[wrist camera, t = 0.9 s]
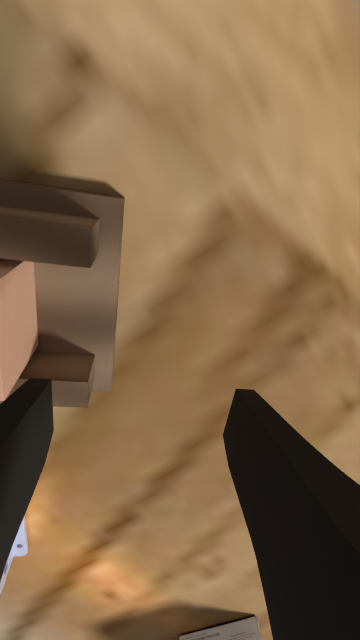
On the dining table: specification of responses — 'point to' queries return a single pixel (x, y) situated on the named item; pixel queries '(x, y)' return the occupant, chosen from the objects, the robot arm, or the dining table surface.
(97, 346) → the taupe railed channel
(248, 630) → the ink cartridge box
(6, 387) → the terracotta block
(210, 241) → the dining table surface
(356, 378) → the dining table surface
